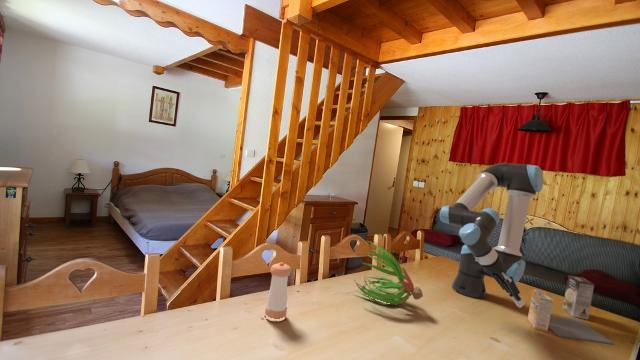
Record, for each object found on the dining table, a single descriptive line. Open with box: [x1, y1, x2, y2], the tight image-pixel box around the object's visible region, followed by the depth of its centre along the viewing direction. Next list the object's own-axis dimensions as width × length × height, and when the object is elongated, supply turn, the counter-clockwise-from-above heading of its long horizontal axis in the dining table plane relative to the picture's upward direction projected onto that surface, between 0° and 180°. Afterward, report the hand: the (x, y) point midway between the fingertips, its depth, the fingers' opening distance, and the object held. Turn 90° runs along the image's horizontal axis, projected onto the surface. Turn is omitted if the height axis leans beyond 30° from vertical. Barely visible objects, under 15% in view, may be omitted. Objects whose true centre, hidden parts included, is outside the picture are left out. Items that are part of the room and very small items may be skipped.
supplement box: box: [527, 289, 554, 332], centre depth 129 cm, size 8×5×13 cm, turn 164°
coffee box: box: [562, 275, 595, 320], centre depth 147 cm, size 9×6×16 cm
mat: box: [548, 314, 614, 345], centre depth 131 cm, size 20×18×1 cm
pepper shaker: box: [264, 261, 292, 319], centre depth 111 cm, size 7×7×19 cm
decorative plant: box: [354, 239, 424, 305], centre depth 133 cm, size 26×25×30 cm
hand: (521, 304), depth 128 cm, fingers closed
